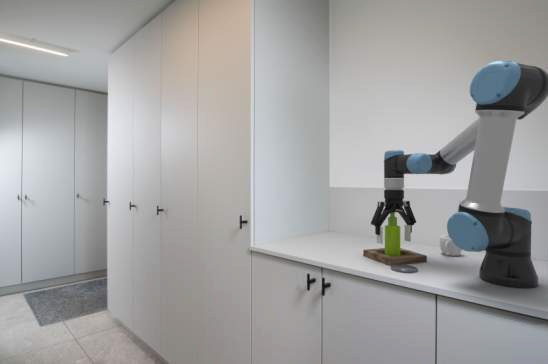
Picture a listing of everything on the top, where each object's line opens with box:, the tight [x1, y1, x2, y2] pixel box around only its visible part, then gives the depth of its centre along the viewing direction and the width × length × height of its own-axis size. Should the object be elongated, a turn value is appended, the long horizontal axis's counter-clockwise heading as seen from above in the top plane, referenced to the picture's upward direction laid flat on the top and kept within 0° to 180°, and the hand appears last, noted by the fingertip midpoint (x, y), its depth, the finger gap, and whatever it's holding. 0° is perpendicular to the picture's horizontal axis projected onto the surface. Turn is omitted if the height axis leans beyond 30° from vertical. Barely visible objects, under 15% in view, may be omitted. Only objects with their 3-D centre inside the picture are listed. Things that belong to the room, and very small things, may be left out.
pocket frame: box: [362, 247, 428, 267], centre depth 132 cm, size 17×17×2 cm
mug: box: [439, 234, 463, 257], centre depth 137 cm, size 12×8×8 cm
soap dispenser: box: [384, 209, 403, 257], centre depth 131 cm, size 6×7×20 cm
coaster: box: [390, 264, 419, 274], centre depth 116 cm, size 9×9×1 cm
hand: (393, 242), depth 132 cm, fingers open, 13 cm apart
